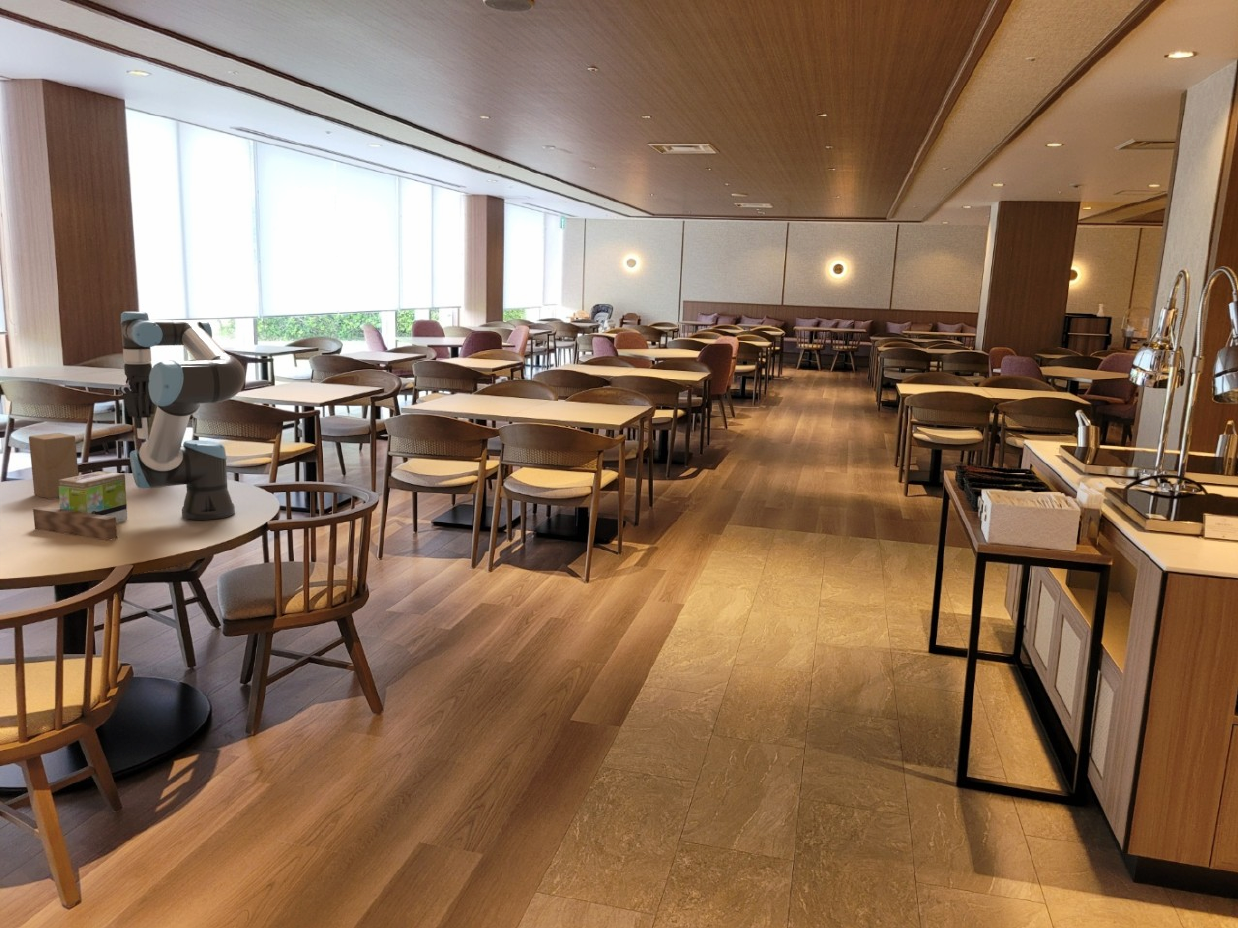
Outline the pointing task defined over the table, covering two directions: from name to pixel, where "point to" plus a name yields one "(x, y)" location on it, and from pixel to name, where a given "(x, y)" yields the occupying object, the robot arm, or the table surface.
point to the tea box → (95, 494)
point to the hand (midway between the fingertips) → (143, 438)
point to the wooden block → (52, 462)
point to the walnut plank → (75, 523)
